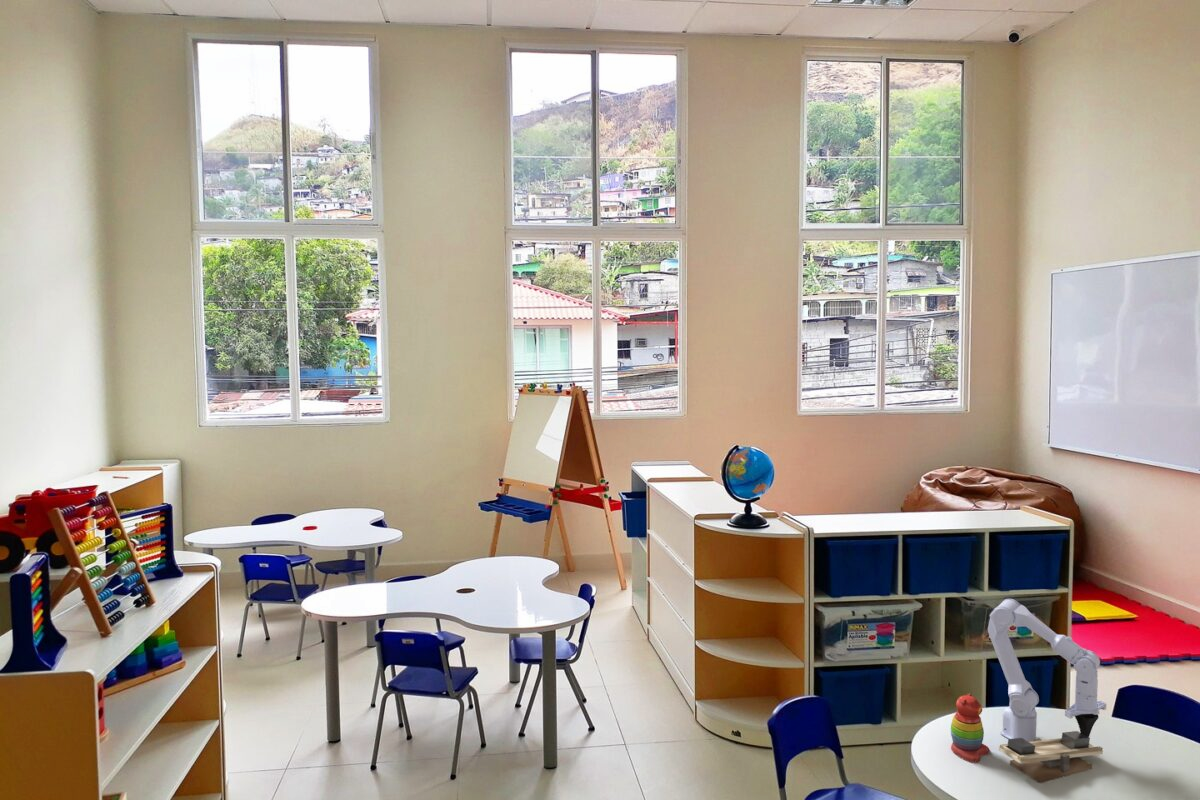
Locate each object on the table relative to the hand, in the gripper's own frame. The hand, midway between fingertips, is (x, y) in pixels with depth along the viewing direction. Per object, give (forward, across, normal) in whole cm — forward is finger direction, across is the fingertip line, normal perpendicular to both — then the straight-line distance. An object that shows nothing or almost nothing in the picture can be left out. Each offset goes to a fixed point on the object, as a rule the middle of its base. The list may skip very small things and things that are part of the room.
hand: (1084, 735), depth 257 cm
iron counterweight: (0, -25, 0) cm, 25 cm away
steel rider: (+3, -4, 0) cm, 5 cm away
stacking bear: (+7, -29, +16) cm, 34 cm away
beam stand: (+7, -13, 0) cm, 15 cm away
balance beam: (+2, -13, 0) cm, 13 cm away
